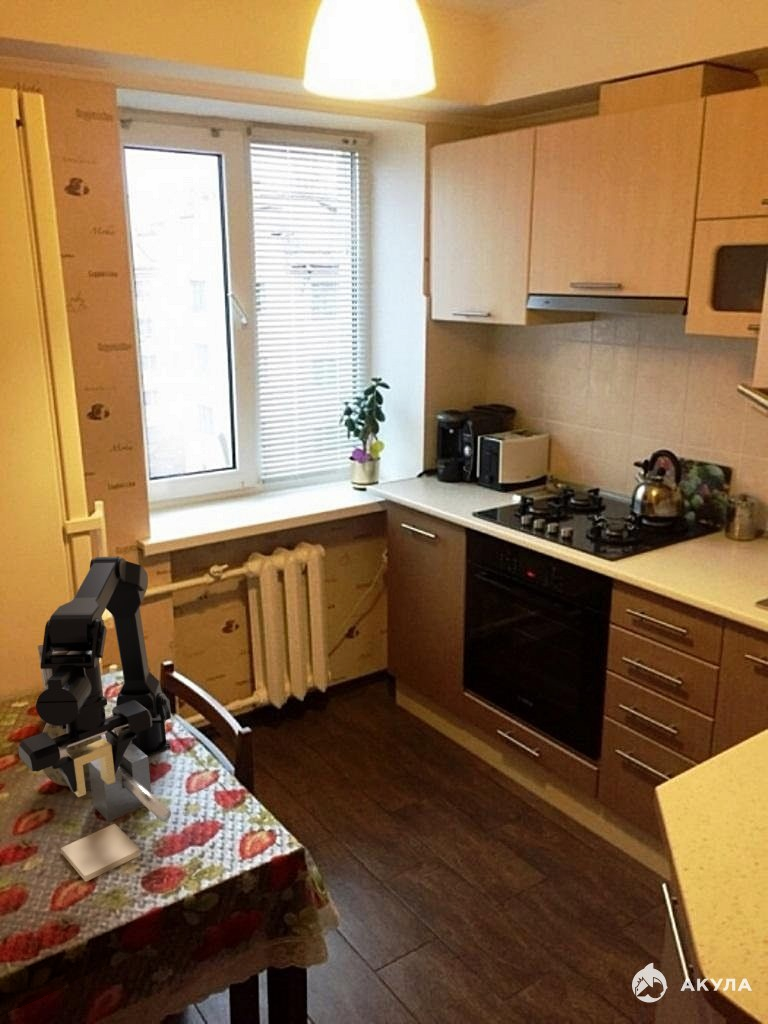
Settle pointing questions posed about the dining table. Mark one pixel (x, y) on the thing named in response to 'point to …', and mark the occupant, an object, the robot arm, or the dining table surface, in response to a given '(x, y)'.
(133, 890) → the dining table surface
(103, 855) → the birch pad
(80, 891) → the dining table surface
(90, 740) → the decorative egg
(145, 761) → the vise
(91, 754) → the tan u-shaped bracket
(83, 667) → the robot arm
